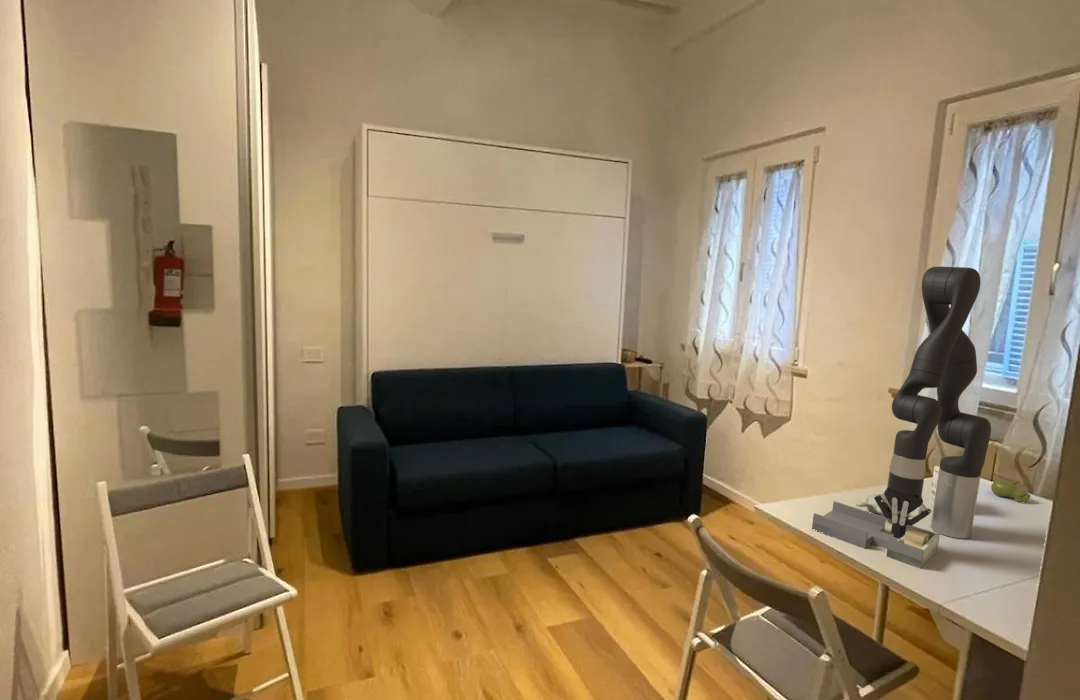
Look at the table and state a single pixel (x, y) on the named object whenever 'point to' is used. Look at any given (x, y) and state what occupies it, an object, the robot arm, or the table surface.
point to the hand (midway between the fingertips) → (897, 537)
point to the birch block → (916, 538)
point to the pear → (1009, 490)
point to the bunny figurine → (872, 505)
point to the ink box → (934, 484)
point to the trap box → (873, 533)
